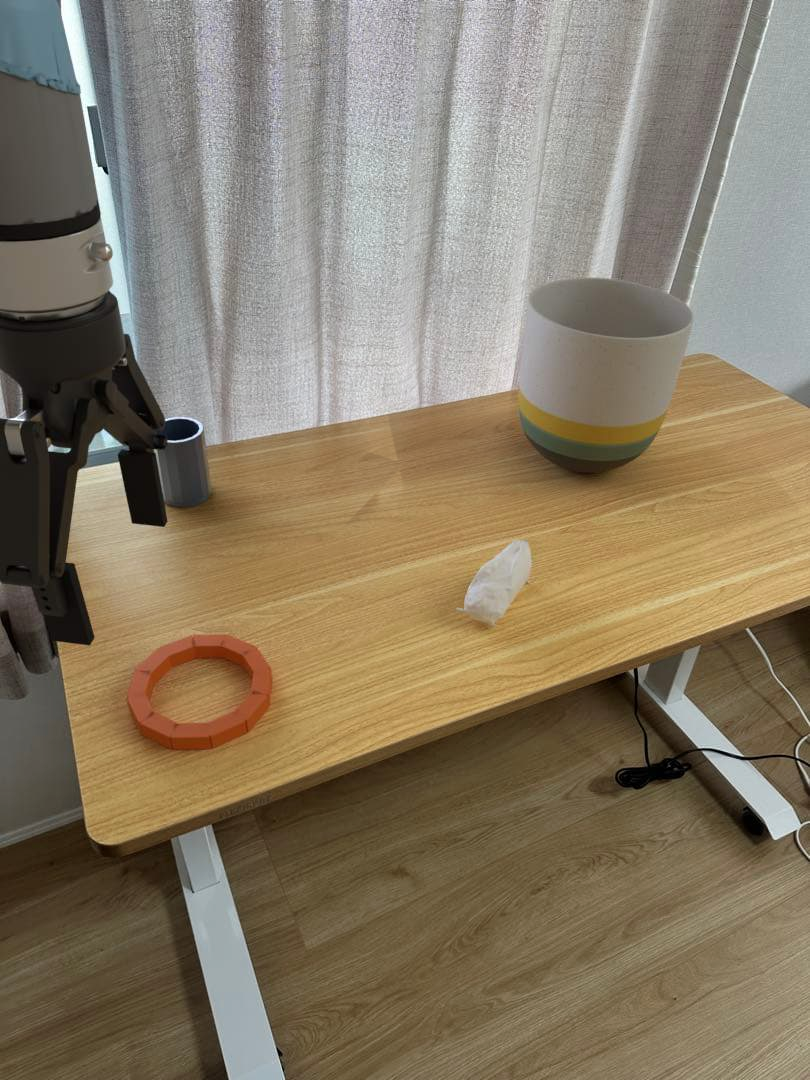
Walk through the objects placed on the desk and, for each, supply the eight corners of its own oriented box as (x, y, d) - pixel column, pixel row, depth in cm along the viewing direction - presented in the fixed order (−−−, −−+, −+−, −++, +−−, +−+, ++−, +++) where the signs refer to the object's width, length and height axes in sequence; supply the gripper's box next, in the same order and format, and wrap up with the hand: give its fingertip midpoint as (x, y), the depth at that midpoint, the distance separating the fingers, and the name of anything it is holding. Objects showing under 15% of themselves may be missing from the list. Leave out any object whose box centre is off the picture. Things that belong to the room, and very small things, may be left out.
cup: (150, 498, 98) (138, 433, 92) (183, 475, 102) (173, 412, 97) (190, 513, 96) (180, 447, 90) (221, 488, 100) (213, 425, 95)
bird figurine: (482, 578, 90) (450, 614, 82) (504, 527, 87) (473, 559, 78) (521, 599, 89) (493, 637, 80) (545, 548, 86) (519, 582, 77)
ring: (101, 715, 71) (98, 703, 70) (191, 630, 80) (189, 618, 79) (215, 771, 67) (213, 759, 66) (297, 674, 76) (296, 662, 75)
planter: (676, 495, 103) (722, 337, 90) (527, 502, 100) (553, 340, 87) (624, 421, 118) (657, 276, 105) (494, 425, 116) (511, 277, 103)
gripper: (-5, 401, 37) (89, 710, 50) (185, 237, 57) (216, 489, 69) (-158, 386, 37) (-26, 695, 50) (82, 229, 57) (133, 480, 70)
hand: (115, 576), depth 60 cm, fingers open, 13 cm apart
